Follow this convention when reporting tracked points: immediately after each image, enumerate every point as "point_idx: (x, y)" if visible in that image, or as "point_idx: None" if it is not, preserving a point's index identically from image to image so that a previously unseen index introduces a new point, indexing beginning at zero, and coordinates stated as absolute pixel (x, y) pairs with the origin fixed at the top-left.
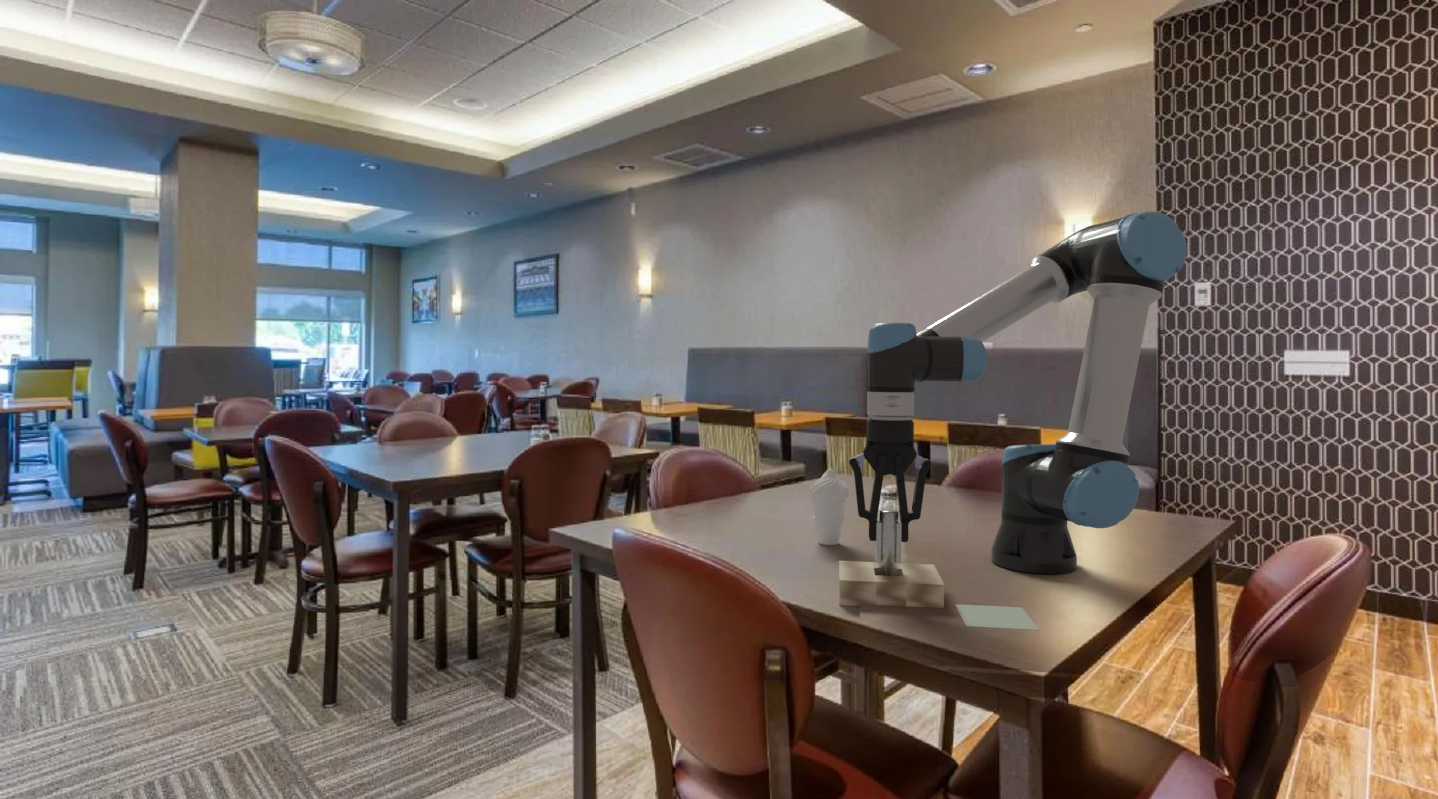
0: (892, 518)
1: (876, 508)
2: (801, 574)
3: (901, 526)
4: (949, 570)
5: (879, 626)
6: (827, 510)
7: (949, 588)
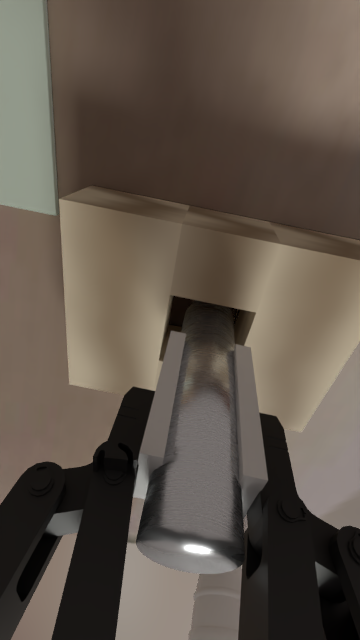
0: (184, 489)
1: (282, 581)
2: (343, 442)
3: (143, 439)
4: (48, 428)
5: (342, 3)
6: (231, 619)
7: (58, 341)
